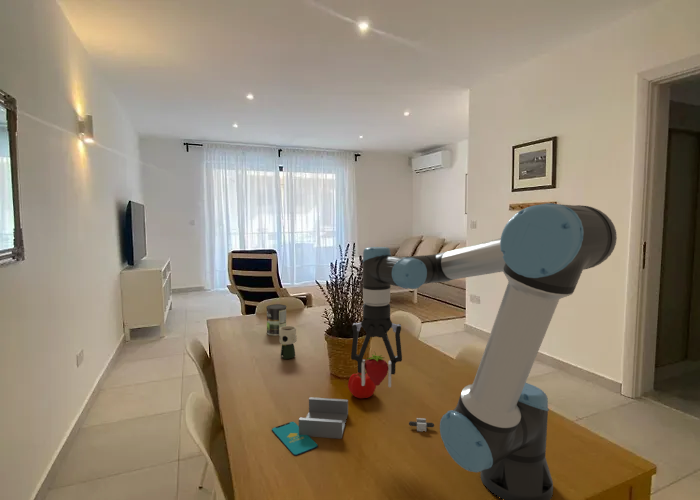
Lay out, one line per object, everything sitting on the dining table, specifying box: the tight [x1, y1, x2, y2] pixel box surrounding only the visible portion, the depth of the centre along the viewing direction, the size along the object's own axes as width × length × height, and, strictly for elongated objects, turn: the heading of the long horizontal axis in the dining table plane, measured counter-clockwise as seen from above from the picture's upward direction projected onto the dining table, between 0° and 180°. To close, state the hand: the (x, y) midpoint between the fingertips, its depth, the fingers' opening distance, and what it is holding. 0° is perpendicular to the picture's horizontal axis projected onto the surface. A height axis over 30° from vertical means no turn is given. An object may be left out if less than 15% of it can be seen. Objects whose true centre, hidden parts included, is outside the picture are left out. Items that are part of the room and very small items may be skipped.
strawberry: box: [365, 352, 388, 387], centre depth 107 cm, size 6×8×10 cm
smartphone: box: [271, 421, 319, 457], centre depth 106 cm, size 7×1×15 cm
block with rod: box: [408, 417, 435, 432], centre depth 111 cm, size 3×7×2 cm, turn 83°
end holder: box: [298, 396, 349, 440], centre depth 112 cm, size 13×12×5 cm
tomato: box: [347, 371, 377, 399], centre depth 131 cm, size 9×9×8 cm
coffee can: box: [266, 303, 287, 337], centre depth 201 cm, size 10×10×14 cm
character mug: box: [278, 325, 298, 360], centre depth 166 cm, size 11×7×13 cm, turn 49°
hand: (376, 384), depth 107 cm, fingers closed on strawberry, 7 cm apart
